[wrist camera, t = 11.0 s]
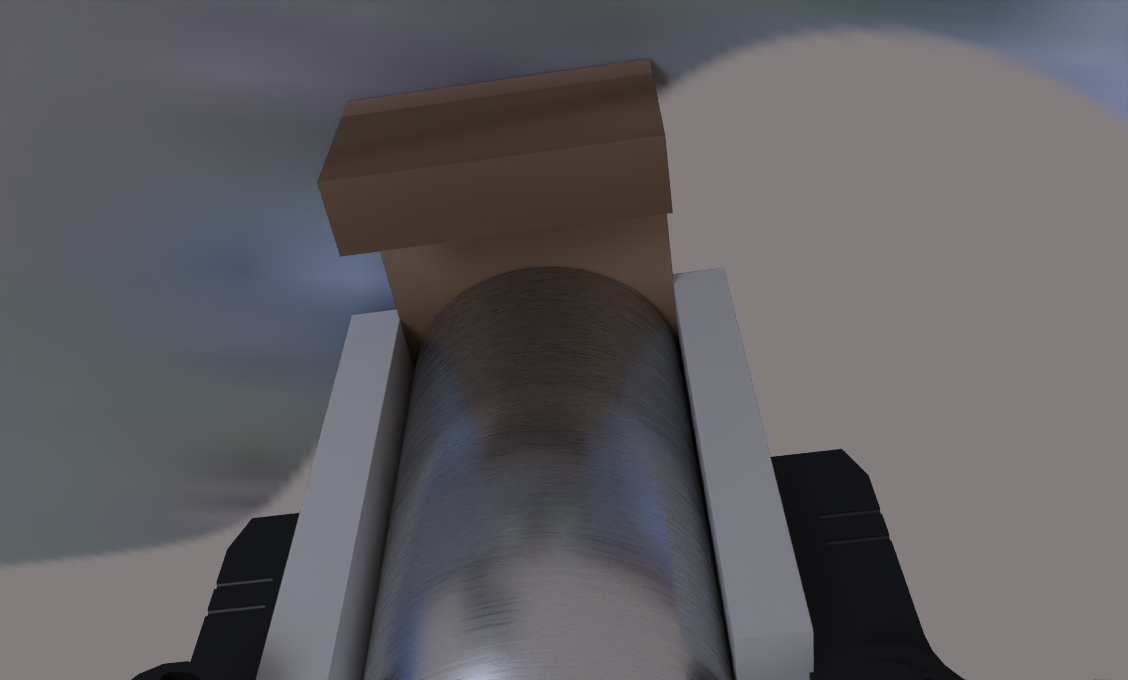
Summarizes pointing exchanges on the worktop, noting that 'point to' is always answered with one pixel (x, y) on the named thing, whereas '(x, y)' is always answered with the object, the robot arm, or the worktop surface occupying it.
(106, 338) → the worktop surface
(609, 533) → the cell
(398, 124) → the brown wooden stand
